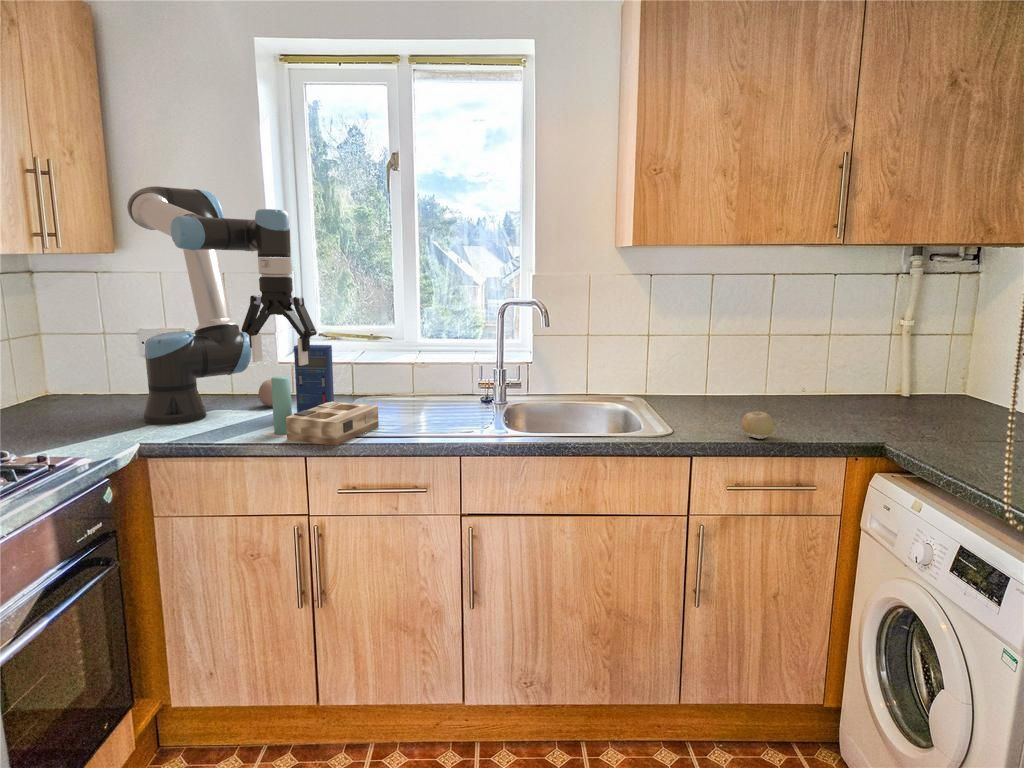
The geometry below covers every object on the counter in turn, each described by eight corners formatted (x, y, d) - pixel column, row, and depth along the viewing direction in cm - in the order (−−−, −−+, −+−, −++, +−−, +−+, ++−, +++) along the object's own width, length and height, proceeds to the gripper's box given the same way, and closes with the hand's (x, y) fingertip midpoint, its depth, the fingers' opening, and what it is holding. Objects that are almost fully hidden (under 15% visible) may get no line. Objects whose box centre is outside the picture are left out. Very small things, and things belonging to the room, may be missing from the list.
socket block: (287, 441, 156) (285, 415, 155) (332, 423, 174) (332, 400, 173) (337, 447, 152) (336, 421, 150) (379, 428, 169) (378, 404, 168)
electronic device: (296, 418, 179) (292, 346, 175) (301, 413, 184) (298, 344, 180) (330, 418, 179) (327, 347, 175) (335, 414, 184) (332, 344, 180)
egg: (254, 406, 192) (252, 379, 190) (276, 402, 197) (275, 376, 195) (267, 410, 187) (265, 382, 186) (289, 406, 192) (288, 379, 191)
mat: (259, 436, 160) (259, 434, 160) (280, 428, 167) (280, 427, 167) (286, 439, 157) (286, 438, 157) (306, 431, 165) (306, 430, 165)
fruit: (772, 436, 167) (775, 406, 166) (771, 443, 161) (774, 412, 159) (742, 432, 170) (744, 403, 169) (739, 439, 164) (742, 409, 162)
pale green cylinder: (270, 433, 161) (267, 378, 158) (282, 429, 165) (279, 375, 162) (285, 435, 160) (282, 380, 157) (296, 431, 164) (293, 377, 161)
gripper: (222, 275, 155) (228, 362, 159) (309, 277, 148) (314, 368, 152) (244, 274, 162) (249, 357, 166) (329, 276, 155) (332, 363, 159)
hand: (280, 363), depth 159 cm, fingers open, 13 cm apart
